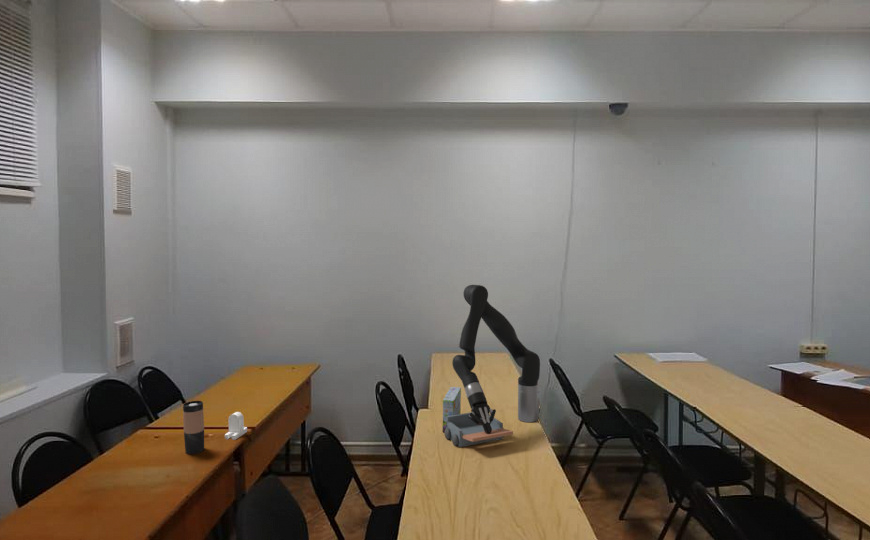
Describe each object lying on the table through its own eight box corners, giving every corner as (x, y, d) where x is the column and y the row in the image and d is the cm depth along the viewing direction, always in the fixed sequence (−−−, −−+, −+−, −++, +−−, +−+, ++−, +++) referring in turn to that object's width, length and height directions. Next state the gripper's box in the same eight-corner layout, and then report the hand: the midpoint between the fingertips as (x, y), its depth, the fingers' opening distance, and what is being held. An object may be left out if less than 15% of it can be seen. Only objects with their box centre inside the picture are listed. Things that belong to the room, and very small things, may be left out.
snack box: (454, 433, 231) (454, 400, 230) (442, 432, 232) (441, 399, 231) (461, 417, 252) (461, 386, 251) (450, 416, 253) (449, 386, 252)
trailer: (490, 428, 236) (490, 409, 236) (505, 438, 225) (505, 418, 224) (444, 436, 227) (443, 416, 227) (456, 447, 215) (456, 426, 215)
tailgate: (501, 428, 223) (513, 431, 214) (502, 432, 222) (513, 435, 214) (462, 435, 215) (472, 438, 207) (463, 440, 215) (472, 443, 207)
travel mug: (209, 448, 217) (207, 401, 215) (195, 455, 210) (193, 407, 208) (194, 445, 219) (192, 399, 218) (180, 453, 212) (178, 405, 211)
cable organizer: (247, 431, 235) (247, 409, 235) (235, 439, 226) (234, 417, 225) (237, 430, 236) (236, 409, 236) (224, 439, 227) (223, 416, 226)
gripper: (464, 393, 218) (478, 431, 208) (491, 389, 224) (506, 426, 213) (459, 401, 224) (472, 439, 213) (486, 397, 229) (499, 434, 218)
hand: (489, 432), depth 213 cm, fingers closed
